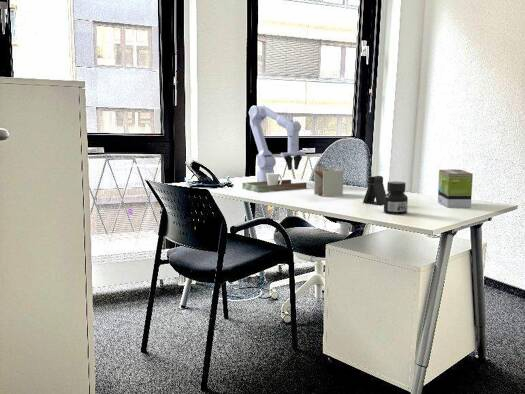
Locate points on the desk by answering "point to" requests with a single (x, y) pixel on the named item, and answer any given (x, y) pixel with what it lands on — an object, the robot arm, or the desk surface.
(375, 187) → the black binoculars
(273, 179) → the cup
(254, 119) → the robot arm
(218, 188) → the desk surface
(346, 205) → the desk surface
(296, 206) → the desk surface
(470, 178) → the tea box
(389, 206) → the ink bottle
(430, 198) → the desk surface
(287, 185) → the trap box
